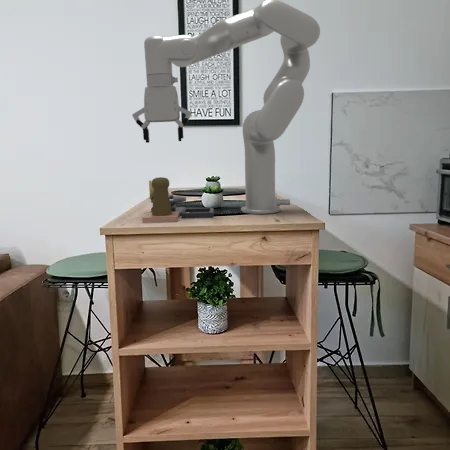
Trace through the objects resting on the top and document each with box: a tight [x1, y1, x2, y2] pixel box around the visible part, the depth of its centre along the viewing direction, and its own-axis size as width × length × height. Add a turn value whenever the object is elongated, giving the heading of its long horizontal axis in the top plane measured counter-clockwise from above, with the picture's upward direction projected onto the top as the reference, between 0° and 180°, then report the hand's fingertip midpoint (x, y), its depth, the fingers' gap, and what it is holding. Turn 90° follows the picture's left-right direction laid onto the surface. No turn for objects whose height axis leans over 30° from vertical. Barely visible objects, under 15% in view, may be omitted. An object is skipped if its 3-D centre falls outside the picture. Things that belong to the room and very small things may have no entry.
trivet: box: [142, 211, 181, 224], centre depth 138 cm, size 10×10×2 cm
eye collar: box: [180, 207, 214, 219], centre depth 144 cm, size 10×10×2 cm
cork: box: [151, 177, 172, 216], centre depth 137 cm, size 6×6×11 cm
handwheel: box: [148, 180, 187, 204], centre depth 152 cm, size 12×12×7 cm
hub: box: [171, 203, 186, 212], centre depth 153 cm, size 10×10×3 cm
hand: (163, 141), depth 138 cm, fingers open, 9 cm apart
